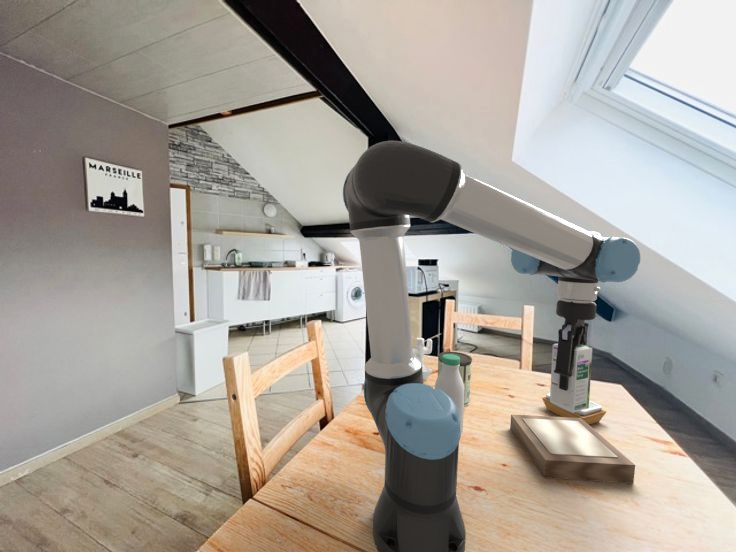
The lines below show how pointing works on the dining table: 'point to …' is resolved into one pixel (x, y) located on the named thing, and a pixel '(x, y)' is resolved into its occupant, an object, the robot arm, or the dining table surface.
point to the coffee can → (461, 372)
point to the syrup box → (574, 379)
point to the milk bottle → (452, 383)
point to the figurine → (422, 350)
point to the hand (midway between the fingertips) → (568, 397)
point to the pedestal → (570, 449)
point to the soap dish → (587, 415)
